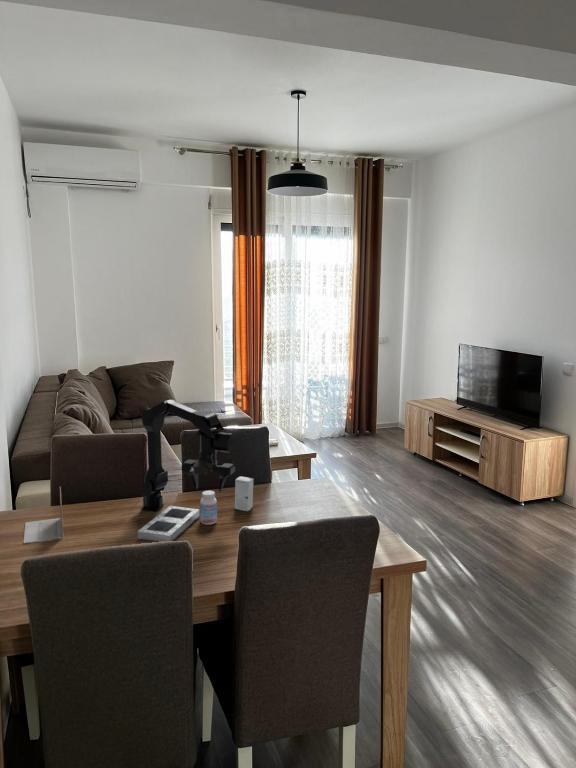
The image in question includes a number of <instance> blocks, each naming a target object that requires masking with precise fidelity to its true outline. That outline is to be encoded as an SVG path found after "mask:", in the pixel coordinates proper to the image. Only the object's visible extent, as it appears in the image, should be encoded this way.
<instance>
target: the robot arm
mask: <svg viewBox="0 0 576 768" xmlns="http://www.w3.org/2000/svg"><path fill="white" fill-rule="evenodd" d="M168 414H170V415H173V416H174V417H178V418H180V419H183V420H185V421H186V422H187V421H188V422H189V423H191V424H192V425H193V426H194V428H196V430H197V429H198V430H197V431H196V432H195V433H194V435H195V436H197V437H200V438H199V445H200V447H199V452H198V457H197V459H190V458H189V459H186V461H184V462H182V464H181V471H182V472H185V474H187V475H189V476H190V478H191V480H192V484H193V485H194V487H195V489H196V490H197V489H198V488H199V475H202V476H207V475H208V473H209V472H213V471H216V472H218V473H219V475H218V478H219V485H218V490H219V493H221V492H222V490H223V487H224V485H225V482H226V480H227V478H229V476H231V475H233V473H235V472H236V466H235V464H233V463H228V462H227V463H225V462H224V463H223V464H222V465H218V460H217V454H218V452H223V453H228V454H233V453H234V452H235V450H236V448H237V440H236V438H235V436H234V434H233V433H232V432H226V430H225V428H224V426H223V424H222V423H221V422H220V420H219V417H218V415H217V414H216V413H214V412H209V411H200V410H196V409H194V408H191V407H189V406H187V405H184V404H182V403H180V402H177V401H175V400H174V399H171V398H170V399H166V400H163V401H162V402H160V403H159V404H157V405H155V406H153V407H150V408H146V409H144V410H143V411H142V412H141V421H142V426H143V427H144V429H145V430H146V436H147V439H146V440H147V460H148V462H147V463H148V468H147V471H146V473H145V474H144V482H143V483H144V484H142V486H141V487H140V488H138V492H139V494H140V495H141V496H142V502H143V505H142V507H141V510H143V511H150V512H151V511H152V512H157V511H159V510H160V509H161V508H162V507H164V503H163V495H162V491H164V490H165V487H166V486H167V485H168V482H169V477H168V474H169V473H168V471H167V470H165V469H164V468H163V461H162V441H161V440H162V439H161V438H162V437H161V436H162V434H161V431H162V428H163V426H164V423H165V416H167V415H168Z"/></svg>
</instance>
